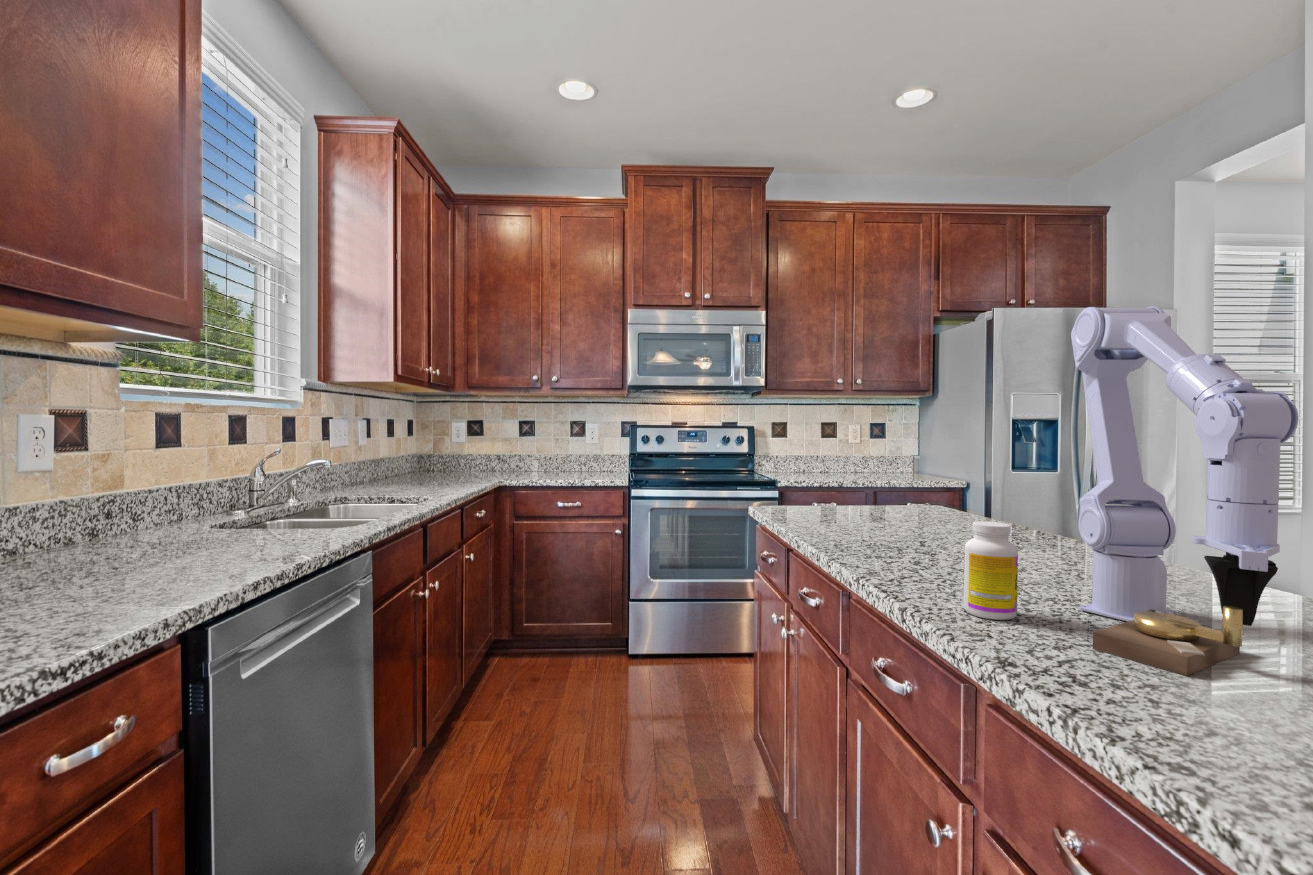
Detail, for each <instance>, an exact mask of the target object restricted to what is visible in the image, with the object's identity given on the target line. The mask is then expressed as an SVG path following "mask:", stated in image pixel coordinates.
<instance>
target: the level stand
mask: <svg viewBox="0 0 1313 875" xmlns="http://www.w3.org/2000/svg"><path fill="white" fill-rule="evenodd" d="M1148 612H1158V611H1155V610H1153V609H1149V610H1148ZM1160 613H1162V612H1160ZM1092 649H1093V650H1095V651H1096V650H1097V651H1100V652H1102V653H1106V654H1110V655H1113V656H1117V657H1120V658H1124V659H1126V660H1130V661H1134V662H1138V663H1141V664H1144V665H1148V666H1150V667H1155V668H1157V669H1161V670H1165V671H1168V672H1171V673H1175V674H1177V675H1181V676H1185V677H1188V676H1191V675H1193V674H1195V673H1197V672H1200V671H1202V670H1204V669H1207V668H1209V667H1211V666H1214V665H1216V664H1218V663H1221V662H1222V661H1225V660H1228V659H1230V658H1232V657H1235V656H1237V655H1239V654H1241V652H1240V650H1241V647H1236V646H1230V645H1226V644H1224V643H1222V642H1220V641H1216V640H1212V639H1208V638H1204V637H1200V639H1198V640H1194V641H1183V640H1173V639H1167V638H1162V637H1157V636H1153V635H1150V634H1146V633H1144V632H1141V631H1139V630H1137V629H1136V628H1135V627H1134V620H1131V621H1128V622H1127V621H1124V622H1122V623H1119V624H1116V625H1112V626H1109V627H1105V628H1102V629H1098V630H1096V631H1093V632H1092Z"/></svg>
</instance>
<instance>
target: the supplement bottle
mask: <svg viewBox="0 0 1313 875" xmlns="http://www.w3.org/2000/svg"><path fill="white" fill-rule="evenodd" d="M1011 531H1012V530H1011V525H1010V524H1008V523H1004V522H999V521H997V522H996V521H983V520H980V521H979V520H978V521H977V520H976V521H972V532H973V538H970V539H968V541H966V542H965V545H964V560H963V561H964V563H963V564H964V566H963V567H964V572H963V609H964V610H965V611H966V612H967V613H968V614H970V615H972V616H974V617H976V618H977V617H978V618H982V619H986V620H987V619H988V620H996V621H1009V620H1012V619H1014V618H1016V616H1017V614H1018V580H1019V579H1018V574H1019V564H1018V562H1019V550H1018V548H1017V546H1016V545H1015V544H1014V543H1013V542H1010V541H1009V537H1010V534H1011Z"/></svg>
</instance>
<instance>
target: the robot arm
mask: <svg viewBox="0 0 1313 875" xmlns="http://www.w3.org/2000/svg"><path fill="white" fill-rule="evenodd" d="M1070 335H1071V336H1070V337H1071V344H1072V350H1073V351H1072V352H1073V359H1074V365H1075V368H1076V369H1077V370H1079V371H1081V375H1082V376H1081V377H1082V382H1083V388H1084V395H1085V403H1086V410H1087V416H1088V422H1089V423H1088V424H1089V430H1090V437H1091V444H1092V449H1093V458H1094V464H1095V465H1094V466H1095V470H1096V471H1095V472H1096V476H1097V477H1096V478H1097V485H1096V486H1094V487H1092V488H1091V489H1090V490H1089V491H1087V492H1086V493H1085V494H1083V496H1081V497H1080V498H1079V505H1080V506H1079V517H1078V532H1079V534H1080V538H1081V539H1082V540H1083V542H1085V544H1086V545H1087V548H1088V549H1091V550H1093V552H1092V553H1093V555H1092V590H1091V592H1092V594H1091V595H1092V596H1091V603H1090V602H1089V603H1087V604H1083V605H1079V606H1078V610H1080V611H1083V612H1088V613H1091V614H1096V615H1099V616H1104V617H1106V618H1107V617H1108V618H1112V619H1116V620H1121V621H1124V622H1128V621H1131V620H1134V614H1135V613H1136V612H1143V611H1148V610H1149V609H1153V610H1155V611H1158V612H1162V613H1167V614H1173V615H1175V612H1174V611H1170V610H1167V588H1168V586H1167V584H1168V583H1167V582H1168V570H1167V567H1166V565H1165V563H1164V561H1163V560H1162V559H1161V558H1160V557H1159V556H1165V555H1164V552H1165V551H1164V550H1167V549H1168V548H1170V546H1171V545H1172V544H1173V543H1174V540H1175V537H1176V531H1177V527H1176V522H1175V520H1174V518H1173V516H1172V514H1171V512H1170V511H1169V509H1168V507H1167V503H1166V497H1165V495H1163V494H1162V493H1161V492H1160V491H1158V490H1156V489H1155V488H1153V487H1152V486H1150V485H1149V484H1147V483H1146V482H1145V481H1144V477H1143V470H1142V464H1141V458H1140V453H1139V446H1138V440H1137V433H1136V429H1135V422H1134V418H1133V410H1132V403H1131V398H1130V393H1129V387H1128V381H1127V379H1128V376H1129V374H1130V373H1131V372H1134V371H1136V370H1139V369H1140V368H1142V367H1143V366H1144V364H1145V363H1146V362H1147V361H1148V360H1149V362H1151V363H1152V364H1153V365H1155V366H1156V367H1158V368H1159V369H1160V370H1162V371H1163V372H1165V374H1167V375H1166V378H1165V386H1166V388H1167V389H1168V390H1169V391H1170V392H1171V393H1172V394H1173V395H1174V396H1175V397H1176V398H1177V399H1178V400H1179V401H1180V402H1182V403H1183V404H1184V405H1185V407H1187V408H1188V410H1190V412H1192V413H1193V414H1194V415H1195V416H1196V417H1194V418H1193V420H1194V421H1193V423H1194V428H1195V432H1196V433H1197V436H1198V437H1199V439H1200V441H1201V454H1203V458H1205V459H1207V480H1206V482H1207V484H1206V485H1207V487H1206V511H1205V512H1206V514H1205V515H1206V516H1205V535H1204V536H1201V535H1192V536H1191V542H1192V543H1193V544H1195V545H1202V546H1203V545H1204V546H1205V547H1209V548H1212V549H1215V550H1219V551H1223V552H1225V554H1224V555H1223V556H1215V555H1204V557H1203V558H1204V560H1205V562H1206V564H1207V565H1208V567H1209V568H1210V572H1211V574H1212V576H1213V578H1214V581H1215V584H1216V587H1217V588H1216V589H1217V592H1218V596H1219V598H1218V599H1219V604H1220V610H1221V613H1222V614H1221V615H1223V606H1234V607H1239V608H1242V609H1243V626H1248V627H1252V625H1253V624H1254V622H1255V620H1256V619H1255V618H1256V615H1257V611H1258V606H1259V603H1260V599H1261V597H1262V594H1263V593H1264V590H1265V588H1266V587H1267V585H1268V583H1269V582H1270V581H1271V580H1272V578H1274V576H1276V574H1277V572H1278V570H1279V568H1278V566H1277V564H1276V563H1275V562H1274V561H1273V560H1270V559H1269V557H1272V556H1274V555H1276V554H1278V553H1280V550H1281V549H1280V548H1281V545H1280V544H1279V543H1278V531H1279V525H1278V524H1279V505H1280V504H1279V503H1280V502H1279V498H1280V476H1281V475H1280V474H1281V473H1280V471H1281V469H1280V467H1281V466H1280V465H1281V445H1282V444H1283V443H1286V442H1287V441H1288V440H1289V439H1291V438H1292V436H1293V435H1294V434H1295V432H1296V430H1297V429H1298V425H1299V413H1298V412H1299V411H1298V409H1297V407H1296V405H1295V403H1294V402H1293V400H1291V398H1289V396H1288V395H1287V393H1284V392H1281V391H1278V390H1277V391H1275V390H1274V391H1273V390H1272V391H1265V390H1264V389H1259V388H1256V387H1255V386H1253V383H1252V382H1251V381H1250V380H1249V379H1248V378H1244V377H1243V376H1242V375H1240V374H1239V373H1238V372H1236V371H1235V370H1233V369H1232V368H1231V367H1230V366H1229V365H1228V364H1226V361H1227V360H1226V358H1224V357H1223V356H1222V355H1221V354H1210V353H1201V354H1200V353H1199V354H1197V353H1196V352H1194V350H1193V349H1192V348H1191V347H1190V346H1189V345H1188V344H1187V343H1186V341H1184V340H1183V339H1182V338H1181V337H1180V335H1178V333H1177V332H1176V331H1174V330H1173V329H1172V316H1171V315H1170V314H1168V313H1166V312H1165V311H1164V310H1163V308H1161V307H1159V306H1155V305H1154V306H1147V307H1097V306H1089V307H1086V308H1085V309H1083V310H1082V311H1081V312H1080V313H1079V315H1078V316H1077V317H1076V319H1075V322H1074V325H1073V326H1072V329H1071V333H1070Z"/></svg>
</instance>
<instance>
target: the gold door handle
mask: <svg viewBox="0 0 1313 875" xmlns="http://www.w3.org/2000/svg"><path fill="white" fill-rule="evenodd" d="M1221 626H1222V628H1221V630H1220V629H1219V630H1218V629H1214V628H1210V627H1207V626H1203V625H1201V623H1200V622H1198V621H1197V620H1194V619H1192V618H1188V617H1185V616H1181V615H1177V614H1174V615H1173V614H1167V613H1160V612H1148V611H1143V612H1136V613H1135V614H1134V627H1135V628H1136V629H1137V630H1139V631H1141V632H1144V633H1146V634H1150V635H1153V636H1157V637H1162V638H1167V639H1173V640H1183V641H1194V640H1198V639H1200V637H1204V638H1208V639H1212V640H1216V641H1220V642H1222V643H1224V644H1226V645H1230V646H1236V647H1240V648H1241V647H1243V628H1244V625H1243V609H1242V608H1239V607H1234V606H1223V614H1222V625H1221Z"/></svg>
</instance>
